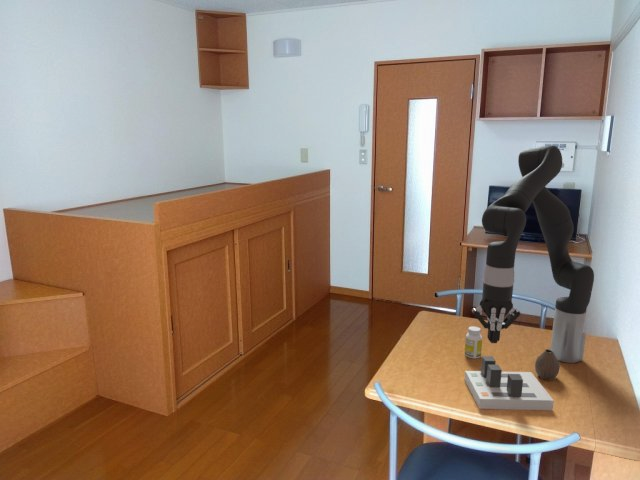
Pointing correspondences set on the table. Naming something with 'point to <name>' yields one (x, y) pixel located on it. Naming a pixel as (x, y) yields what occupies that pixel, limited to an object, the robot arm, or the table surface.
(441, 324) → the table surface
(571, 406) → the table surface
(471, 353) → the supplement bottle
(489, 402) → the breaker panel
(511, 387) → the block
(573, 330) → the robot arm
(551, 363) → the vase
